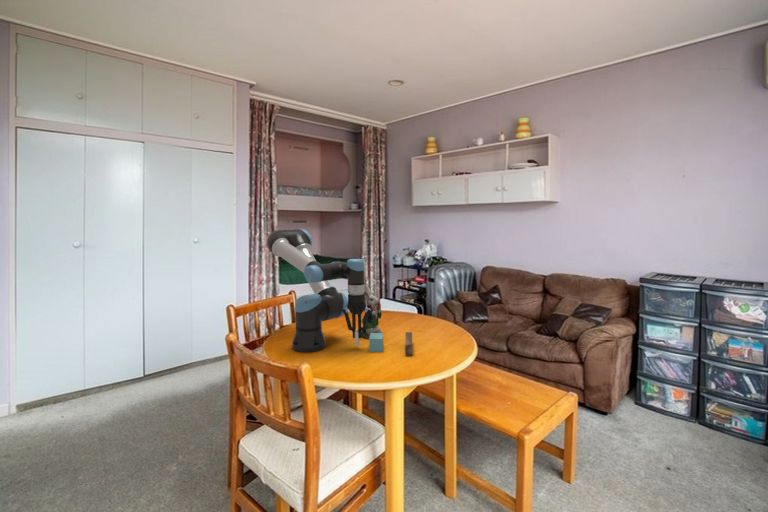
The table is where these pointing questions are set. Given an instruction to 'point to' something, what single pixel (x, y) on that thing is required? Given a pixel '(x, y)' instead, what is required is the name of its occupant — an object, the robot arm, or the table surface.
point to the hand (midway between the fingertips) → (357, 345)
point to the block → (376, 342)
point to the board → (408, 344)
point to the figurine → (371, 314)
